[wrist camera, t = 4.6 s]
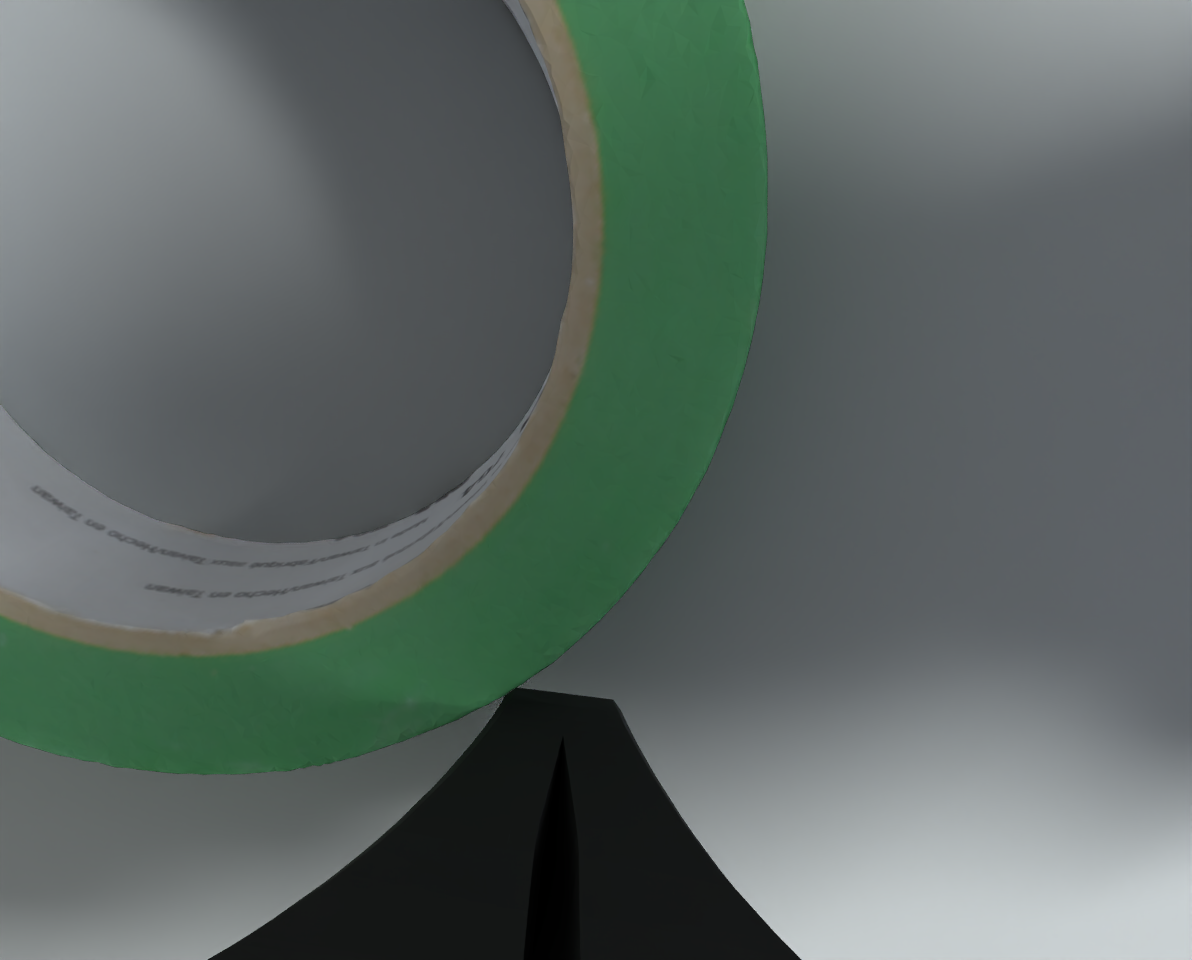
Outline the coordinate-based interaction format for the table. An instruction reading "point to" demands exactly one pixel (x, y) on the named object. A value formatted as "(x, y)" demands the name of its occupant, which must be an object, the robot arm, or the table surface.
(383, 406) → the table surface
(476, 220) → the table surface
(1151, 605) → the table surface
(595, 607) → the tape roll
